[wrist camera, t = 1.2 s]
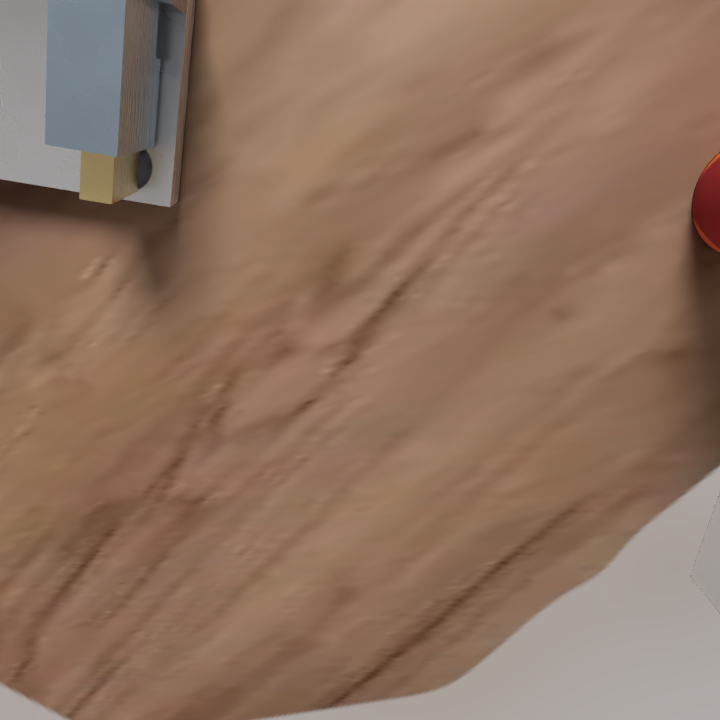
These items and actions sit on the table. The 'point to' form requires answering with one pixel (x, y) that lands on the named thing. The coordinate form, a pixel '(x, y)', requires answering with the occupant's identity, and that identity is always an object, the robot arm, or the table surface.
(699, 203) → the coffee cup
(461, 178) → the table surface
